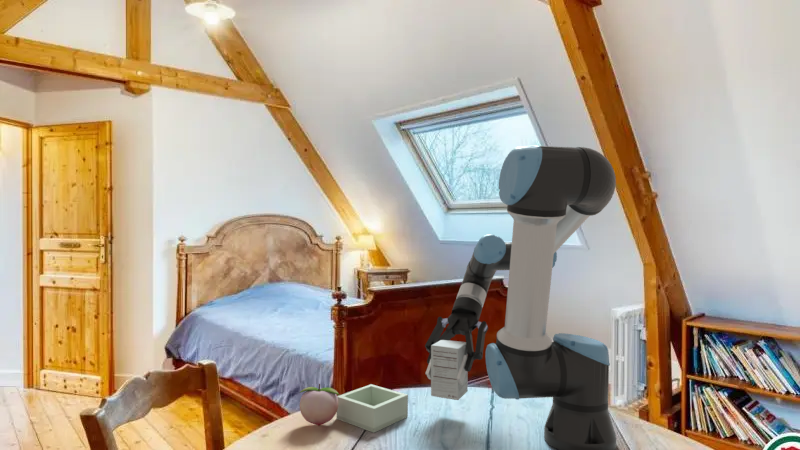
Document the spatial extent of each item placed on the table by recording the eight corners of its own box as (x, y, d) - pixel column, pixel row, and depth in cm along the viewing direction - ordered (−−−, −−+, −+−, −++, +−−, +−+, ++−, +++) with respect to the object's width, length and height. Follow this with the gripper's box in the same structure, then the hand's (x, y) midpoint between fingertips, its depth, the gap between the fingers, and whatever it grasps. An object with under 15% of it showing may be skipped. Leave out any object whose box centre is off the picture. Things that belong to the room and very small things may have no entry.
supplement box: (440, 387, 133) (441, 338, 133) (468, 392, 130) (468, 341, 130) (429, 396, 126) (430, 344, 126) (458, 400, 123) (458, 348, 123)
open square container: (407, 416, 128) (407, 394, 127) (373, 432, 118) (374, 408, 118) (370, 404, 135) (371, 384, 135) (336, 418, 126) (336, 396, 126)
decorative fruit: (297, 434, 117) (297, 390, 116) (300, 420, 125) (300, 379, 125) (339, 432, 118) (339, 389, 118) (339, 418, 126) (339, 378, 126)
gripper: (508, 315, 136) (487, 393, 122) (438, 309, 146) (411, 380, 132) (502, 298, 132) (479, 377, 118) (430, 292, 142) (401, 364, 128)
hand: (443, 378), depth 125 cm, fingers closed on supplement box, 8 cm apart
